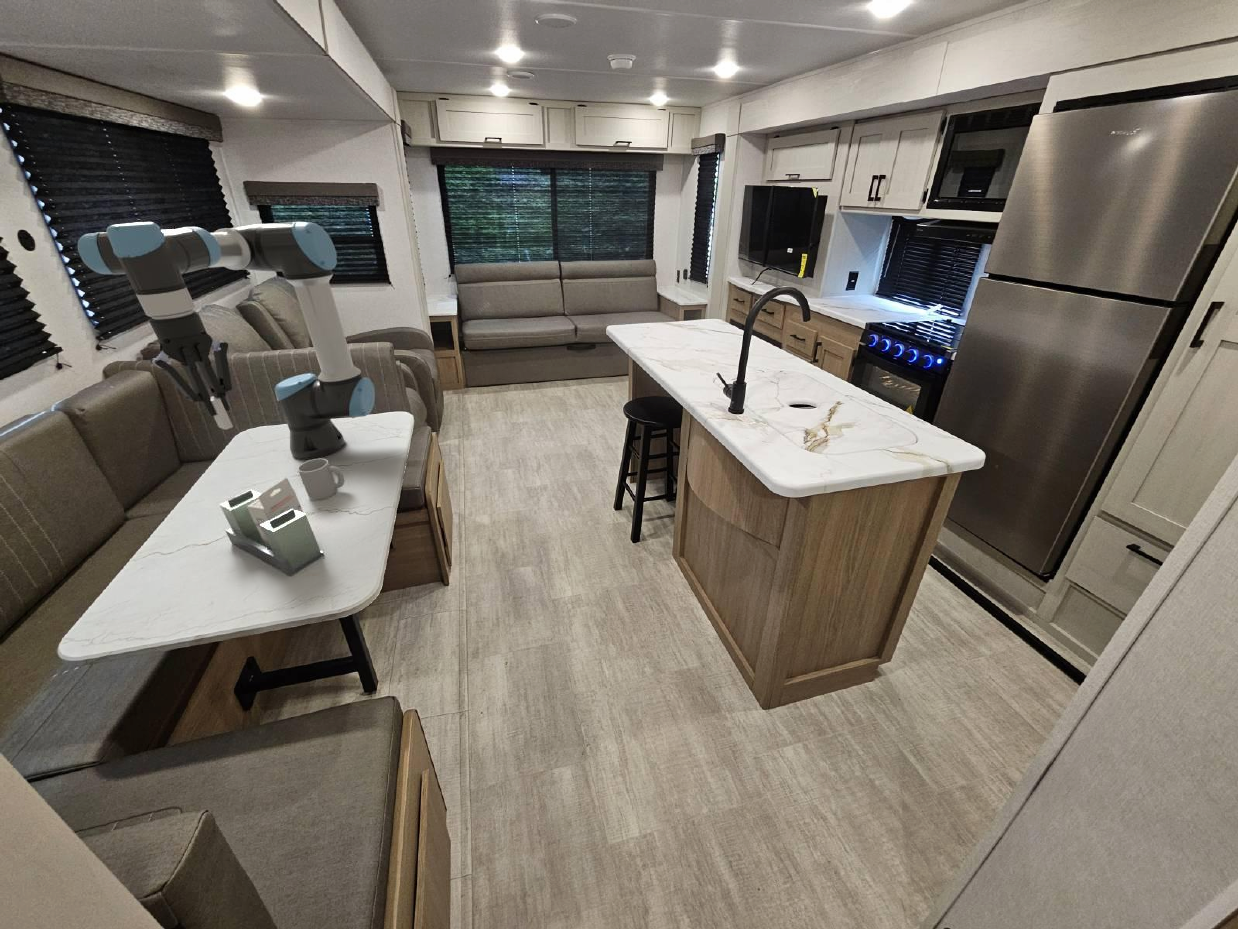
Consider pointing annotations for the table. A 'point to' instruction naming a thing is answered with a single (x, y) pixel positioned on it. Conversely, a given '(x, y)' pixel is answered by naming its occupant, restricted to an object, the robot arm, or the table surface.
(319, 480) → the cup
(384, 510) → the table surface
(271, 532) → the double block cradle
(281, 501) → the ink cartridge box
